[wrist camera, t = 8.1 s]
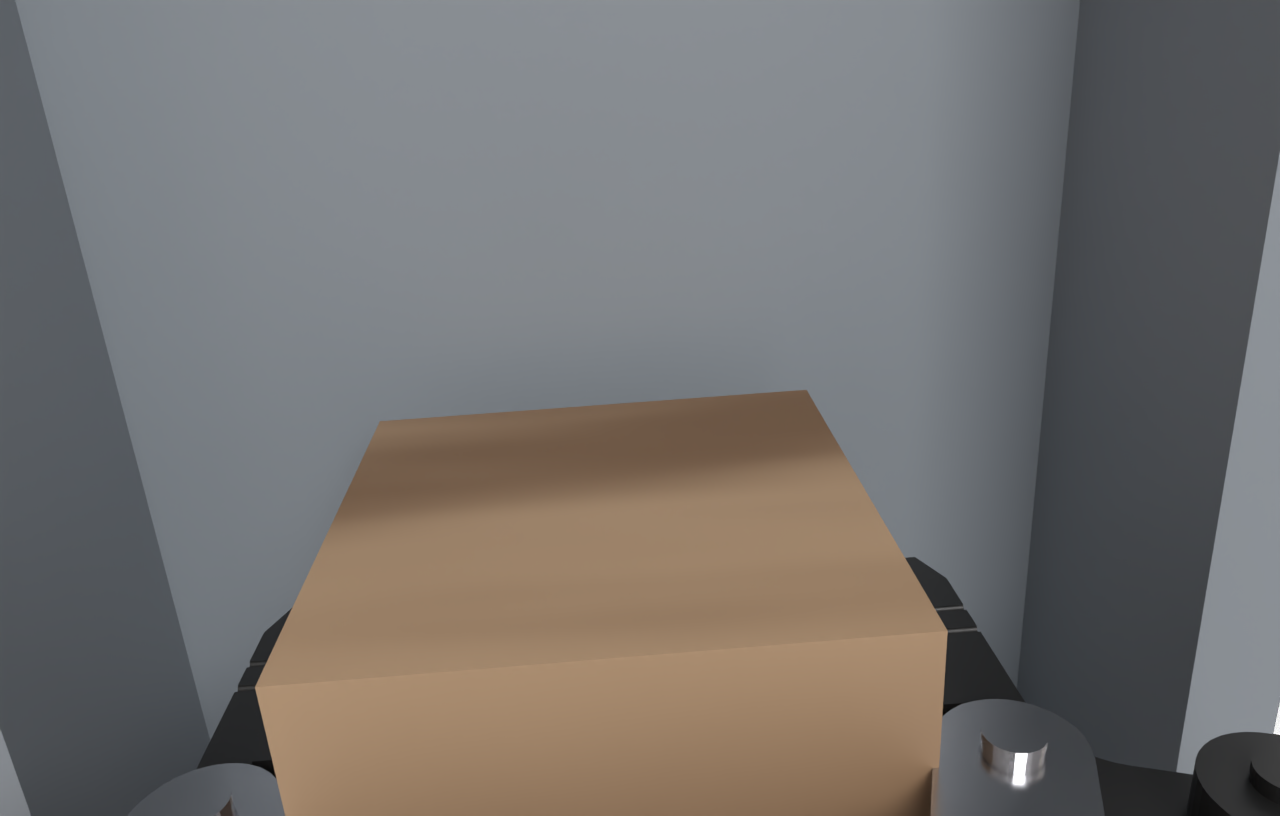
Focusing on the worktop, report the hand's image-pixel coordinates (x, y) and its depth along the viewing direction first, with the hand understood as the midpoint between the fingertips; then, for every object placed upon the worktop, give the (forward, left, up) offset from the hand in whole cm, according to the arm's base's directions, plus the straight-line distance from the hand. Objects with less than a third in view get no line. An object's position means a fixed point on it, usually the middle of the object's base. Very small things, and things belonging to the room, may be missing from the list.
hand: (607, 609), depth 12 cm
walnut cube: (0, 0, -1) cm, 1 cm away
